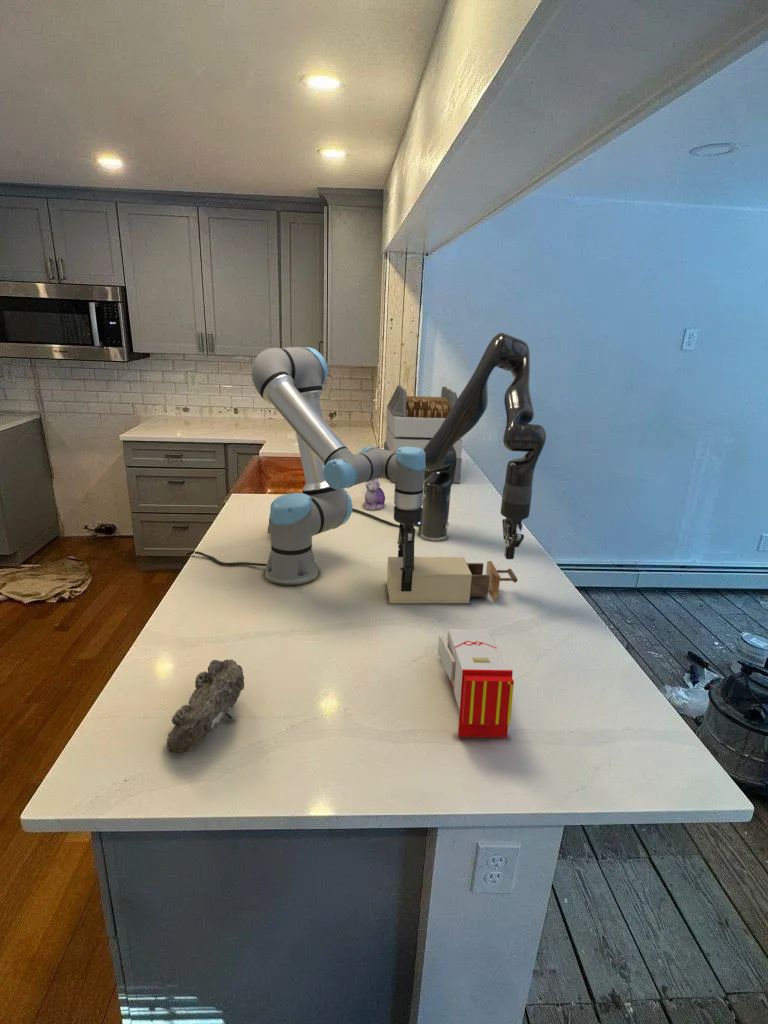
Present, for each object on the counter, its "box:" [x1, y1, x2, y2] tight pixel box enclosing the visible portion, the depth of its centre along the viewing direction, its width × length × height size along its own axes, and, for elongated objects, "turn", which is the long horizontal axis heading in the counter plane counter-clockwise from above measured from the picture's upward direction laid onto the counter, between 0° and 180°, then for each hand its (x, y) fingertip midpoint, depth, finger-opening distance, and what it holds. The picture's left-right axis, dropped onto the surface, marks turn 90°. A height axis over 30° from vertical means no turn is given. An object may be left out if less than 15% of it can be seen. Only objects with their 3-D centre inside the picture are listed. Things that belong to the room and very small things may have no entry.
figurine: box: [363, 478, 386, 511], centre depth 223 cm, size 9×10×15 cm
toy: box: [437, 628, 515, 738], centre depth 117 cm, size 12×13×30 cm
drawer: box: [466, 560, 519, 600], centre depth 158 cm, size 26×10×7 cm, turn 94°
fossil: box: [166, 658, 245, 754], centre depth 106 cm, size 22×10×15 cm
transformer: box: [383, 384, 464, 484], centre depth 268 cm, size 34×33×41 cm
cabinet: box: [386, 556, 472, 604], centre depth 157 cm, size 22×11×9 cm, turn 94°
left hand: (404, 580), depth 157 cm, fingers closed on cabinet, 11 cm apart
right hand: (508, 558), depth 156 cm, fingers closed
